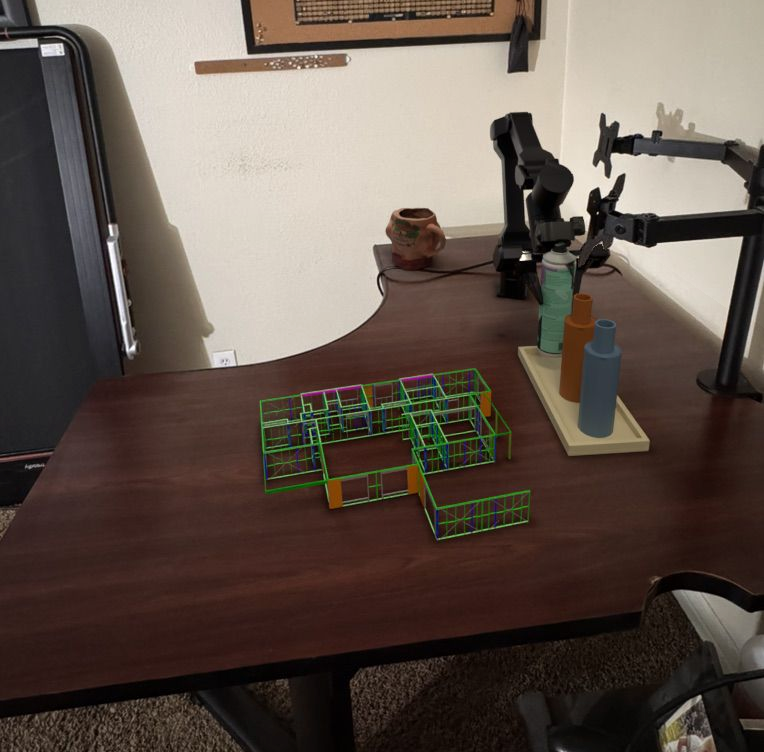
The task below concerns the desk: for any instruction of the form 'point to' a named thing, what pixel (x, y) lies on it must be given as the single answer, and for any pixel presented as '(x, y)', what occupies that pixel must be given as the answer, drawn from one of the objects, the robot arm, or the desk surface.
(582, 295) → the amber bottle
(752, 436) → the desk surface
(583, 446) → the tray
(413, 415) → the house model
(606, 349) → the slate bottle
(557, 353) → the spray can
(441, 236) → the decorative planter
